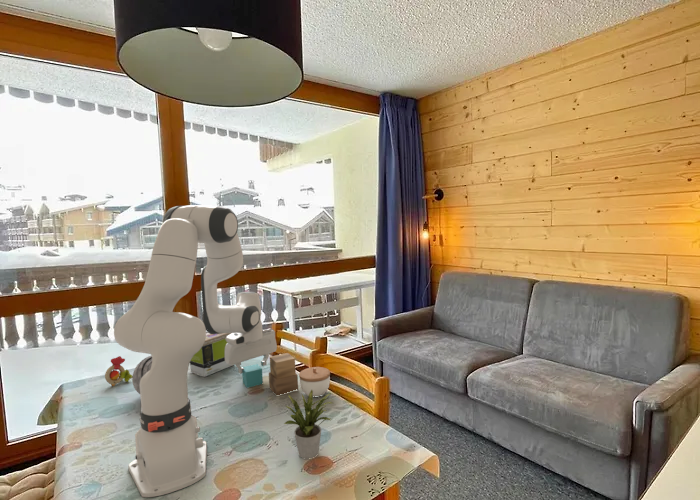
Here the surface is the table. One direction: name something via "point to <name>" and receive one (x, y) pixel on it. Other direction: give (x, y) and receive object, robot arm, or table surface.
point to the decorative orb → (141, 372)
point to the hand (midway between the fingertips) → (252, 369)
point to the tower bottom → (283, 384)
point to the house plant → (307, 425)
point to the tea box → (210, 355)
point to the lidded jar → (315, 380)
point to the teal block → (252, 375)
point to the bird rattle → (117, 372)
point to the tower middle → (282, 365)
